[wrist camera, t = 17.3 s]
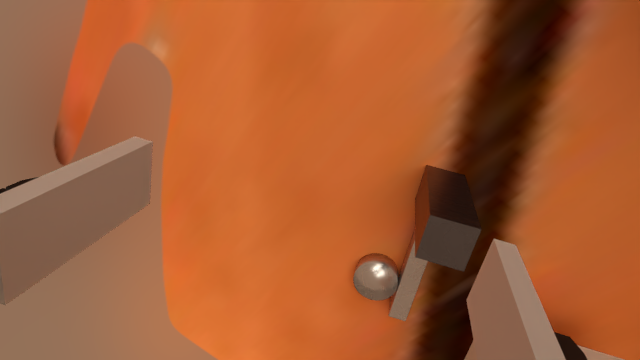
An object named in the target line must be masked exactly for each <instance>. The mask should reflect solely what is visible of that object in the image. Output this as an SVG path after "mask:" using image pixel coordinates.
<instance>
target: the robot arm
mask: <svg viewBox="0 0 640 360" xmlns="http://www.w3.org/2000/svg"><path fill="white" fill-rule="evenodd" d="M152 146H153V142H152V141H149V140H145V139H142V138H138V137H132V138H130V139H128V140H125V141H123V142H121V143H118V144H116V145H114V146H111V147H109V148H107V149H104V150H102V151H100V152H97V153H95V154H93V155H90V156H88V157H85V158H83V159H81V160H78V161H76V162H74V163H71V164H69V165H67V166H64V167H62V168H60V169H57V170H55V171H52V172H50V173H48V174H45V175H43V176H41V177H37V178H32V179H26V180H22V181H19V182H17V183H15V184H12V185H10V186H7V187H6V189H4V188H2V189H0V303H1V304H3V305H6V304H7V303H9V302H10V301H12V300H13V299H15V298H16V297H18V296H19V295H20V294H22V293H23V292H25V291H26V290H28V289H29V288H30V287H32V286H33V285H35V284H36V283H38V282H39V281H40V280H42V279H43V278H45V277H46V276H48V275H49V274H50V273H52V272H53V271H55V270H56V269H58V268H59V267H60V266H62V265H63V264H65V263H66V262H67V261H69V260H70V259H72V258H73V257H75V256H76V255H77V254H79V253H80V252H82V251H83V250H84V249H86V248H87V247H89V246H90V245H92V244H93V243H94V242H96V241H97V240H99V239H100V238H102V237H103V236H104V235H106V234H107V233H109V232H110V231H112V230H113V229H114V228H116V227H117V226H119V225H120V224H122V223H123V222H124V221H126V220H127V219H129V218H130V217H131V216H133V215H134V214H136V213H137V212H139V211H140V210H142V209H143V208H144V207H146V206H147V205H148V204H150V189H151V167H152ZM467 306H468V311H469V317H470V322H471V328H472V334H473V339H474V345H475V351H476V356H477V360H587V358H586V356H585V354H584V352H583V351H582V350H581V349H580V348H579V347H578V346H577V345H576V343H575V342H574V341H573V340H572V339H571V338H570V337H568V336H565V335H562V334H558V333H555V332H554V331H553V329H552V327H551V325H550V322H549V320H548V318H547V315H546V313H545V311H544V309H543V306H542V304H541V302H540V299H539V297H538V295H537V293H536V290H535V288H534V286H533V283H532V281H531V279H530V276H529V274H528V272H527V270H526V267H525V265H524V263H523V260H522V258H521V256H520V254H519V251H518V249H517V247H516V245H514V244H510V243H507V242H503V241H500V240H496V239H493V241H492V244H491V246H490V248H489V250H488V253H487V255H486V257H485V259H484V262H483V264H482V266H481V268H480V271H479V273H478V275H477V277H476V280H475V282H474V284H473V287H472V289H471V291H470V293H469V296H468V298H467Z"/></svg>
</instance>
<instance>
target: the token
mask: <svg viewBox="0 0 640 360" xmlns="http://www.w3.org/2000/svg"><path fill="white" fill-rule="evenodd" d="M398 274H399V272H398V268H397V265H396V264H395V262H394V261H393V260H392V259H391V258H389V257H387V256H385V255H383V254H377V253H374V254H368V255H366V256H364V257H363V258H361V259H360V260H359V262H358V264H357V266H356V270H355V274H354V278H353V281H354V285H355V288H356V289H357V291H358V292H359V293H360V294H361V295H363V296H364V297H366V298H368V299H371V300H384V299H387V298H389V297H391V296H392V295H393V294H394V293H395V291H396V289H397V285H398Z"/></svg>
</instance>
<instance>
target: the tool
mask: <svg viewBox="0 0 640 360" xmlns="http://www.w3.org/2000/svg"><path fill="white" fill-rule="evenodd" d="M480 232H481V226H480V223H479V220H478V217H477V213H476V210H475V207H474V204H473V200H472V197H471V194H470V190H469V187H468V184H467V181H466V177H465V175H462V174H458V173H455V172H451V171H447V170H443V169H440V168H436V167H432V166H428V165H426V168H425V171H424V174H423V177H422V180H421V183H420V186H419V189H418V192H417V195H416V198H415V230H414V233H413V236H412V239H411V242H410V245H409V248H408V251H407V254H406V257H405V260H404V262H403V265H402V268H401V271H400V274H399V277H398V285H397V289H396V291H395V293H394V294H393V295H392V297H391V300H390V306H389V316H390V317H393V318H397V319H400V320H403V321H406V319H407V316H408V313H409V311H410V308H411V305H412V302H413V300H414V297H415V294H416V292H417V289H418V286H419V284H420V281H421V278H422V275H423V273H424V270H425V267H426V265H427V262H428V261H430V262H433V263H436V264H440V265H443V266H447V267H450V268H454V269H457V270H460V271H464V270H465V268H466V265H467V263H468V260H469V258H470V256H471V253H472V251H473V248H474V246H475V244H476V241H477V239H478V236H479V234H480Z"/></svg>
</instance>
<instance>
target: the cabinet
mask: <svg viewBox="0 0 640 360" xmlns="http://www.w3.org/2000/svg"><path fill="white" fill-rule="evenodd" d="M577 346H578V347H579V348H580V349H581V350H582V351H583V352H584V354H585V356H586V358H587V360H624V359H621V358H618V357H614V356H611V355H608V354H605V353H601V352H598V351H595V350H592V349H588V348H585V347H582V346H579V345H577ZM464 360H477V356H476V351H475V345H474V340H473V342H472V344H471V346H470V348H469V350H468V352H467V355H466V357H465V359H464Z"/></svg>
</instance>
